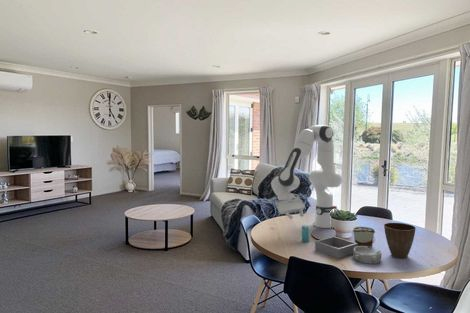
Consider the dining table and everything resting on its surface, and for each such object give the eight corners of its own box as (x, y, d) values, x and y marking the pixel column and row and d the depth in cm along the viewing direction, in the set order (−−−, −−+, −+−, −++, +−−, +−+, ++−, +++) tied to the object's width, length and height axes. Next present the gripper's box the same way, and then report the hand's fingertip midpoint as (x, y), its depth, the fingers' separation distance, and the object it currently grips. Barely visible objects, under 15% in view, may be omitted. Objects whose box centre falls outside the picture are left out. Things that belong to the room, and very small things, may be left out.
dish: (358, 252, 180) (358, 243, 180) (384, 258, 172) (385, 249, 171) (348, 260, 169) (348, 251, 169) (376, 267, 160) (376, 257, 160)
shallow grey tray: (333, 244, 194) (333, 236, 193) (357, 252, 181) (357, 243, 180) (315, 250, 185) (315, 241, 184) (338, 258, 172) (338, 249, 171)
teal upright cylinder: (305, 239, 203) (305, 225, 203) (310, 241, 200) (310, 226, 199) (300, 240, 201) (300, 226, 200) (305, 242, 197) (305, 228, 197)
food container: (371, 243, 195) (371, 226, 195) (374, 246, 189) (375, 229, 188) (350, 242, 196) (350, 226, 196) (352, 246, 190) (352, 229, 190)
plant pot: (378, 255, 175) (379, 226, 174) (389, 248, 185) (390, 220, 184) (409, 263, 164) (410, 232, 163) (418, 255, 175) (419, 226, 173)
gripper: (276, 198, 204) (287, 216, 197) (300, 194, 216) (311, 212, 208) (271, 204, 208) (282, 222, 201) (295, 200, 220) (305, 217, 212)
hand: (297, 217), depth 205 cm, fingers open, 8 cm apart
